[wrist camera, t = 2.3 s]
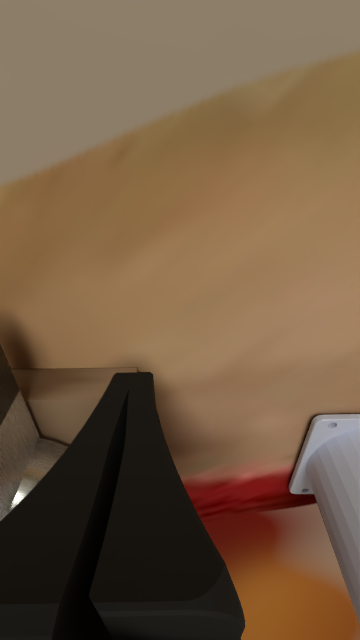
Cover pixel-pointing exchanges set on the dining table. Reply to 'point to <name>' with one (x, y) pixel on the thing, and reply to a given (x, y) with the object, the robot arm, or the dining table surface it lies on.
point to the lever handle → (20, 444)
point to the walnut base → (63, 398)
